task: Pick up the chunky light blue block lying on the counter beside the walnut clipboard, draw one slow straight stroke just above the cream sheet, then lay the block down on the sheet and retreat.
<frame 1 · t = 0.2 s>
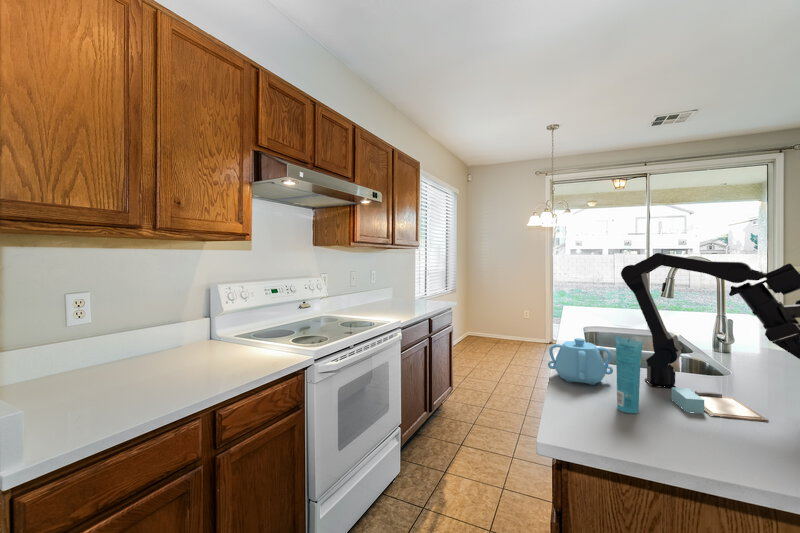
light blue block: (685, 406, 99), on the counter
tube: (627, 410, 97), on the counter
decorative pot: (579, 379, 121), on the counter
clipboard: (722, 406, 98), on the counter
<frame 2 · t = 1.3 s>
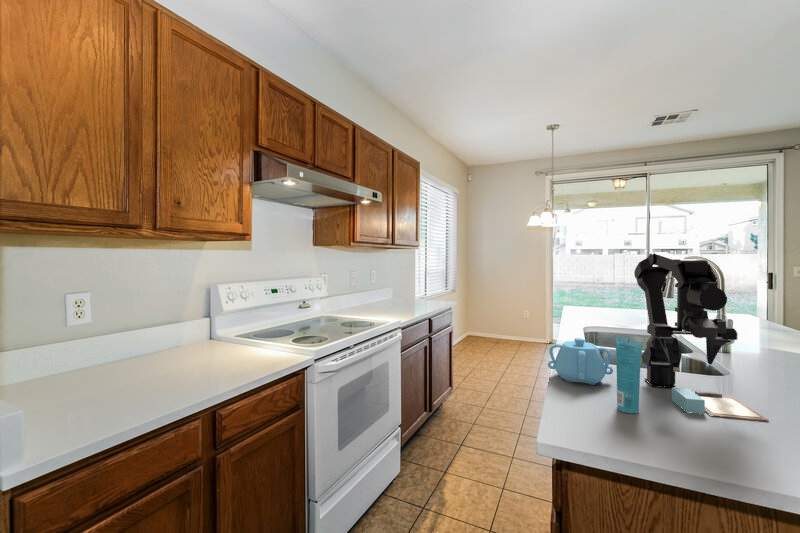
hand: (689, 362, 99), 12 cm above the counter, tool pointing down, fingers open, 9 cm apart
nothing on the counter moved.
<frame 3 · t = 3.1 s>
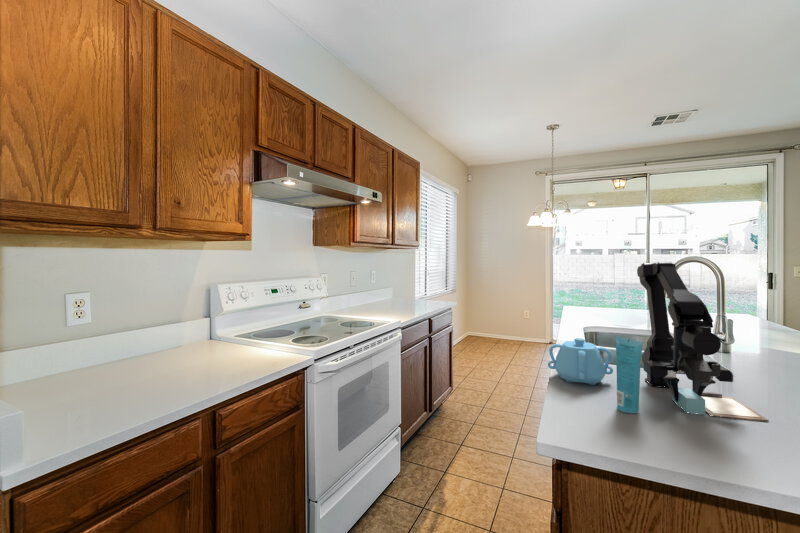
hand: (685, 402, 99), 1 cm above the counter, tool pointing down, fingers closed on light blue block, 4 cm apart
light blue block: (686, 406, 99), on the counter, touching gripper
everything else where it was.
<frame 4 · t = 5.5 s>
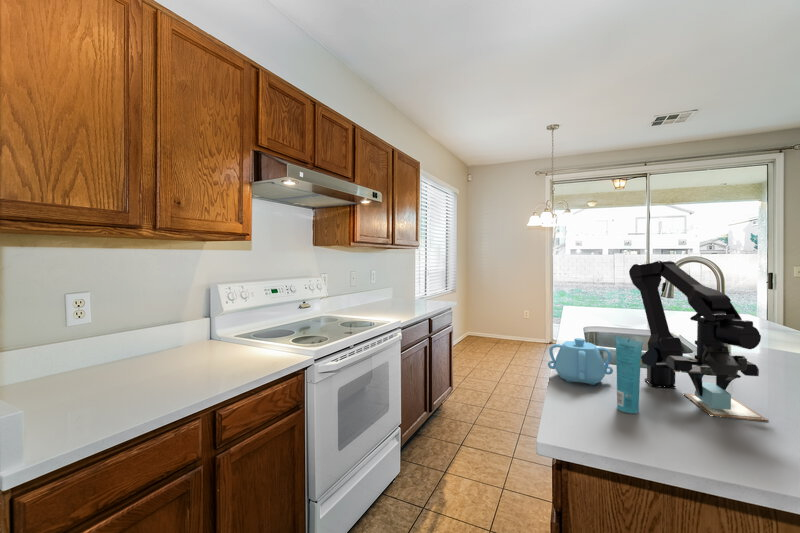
hand: (709, 396, 99), 3 cm above the counter, tool pointing down, fingers closed on light blue block, 4 cm apart
light blue block: (710, 401, 98), point 2 cm above the counter, touching gripper
everything else where it was.
when the fingers open (2 cm above the counter, at t = 8.1 s): light blue block stays where it is, resting on clipboard.
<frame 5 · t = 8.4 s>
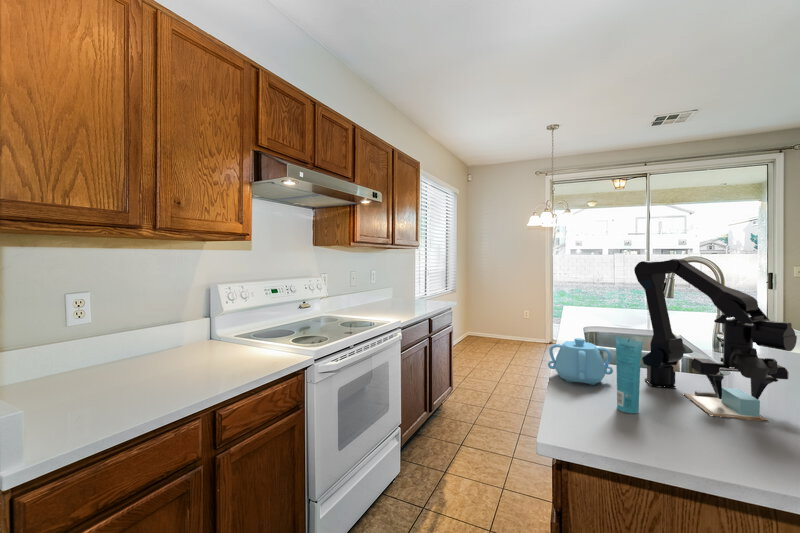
hand: (736, 400, 97), 2 cm above the counter, tool pointing down, fingers open, 7 cm apart
light blue block: (737, 407, 97), point 1 cm above the counter, touching clipboard
everything else where it was.
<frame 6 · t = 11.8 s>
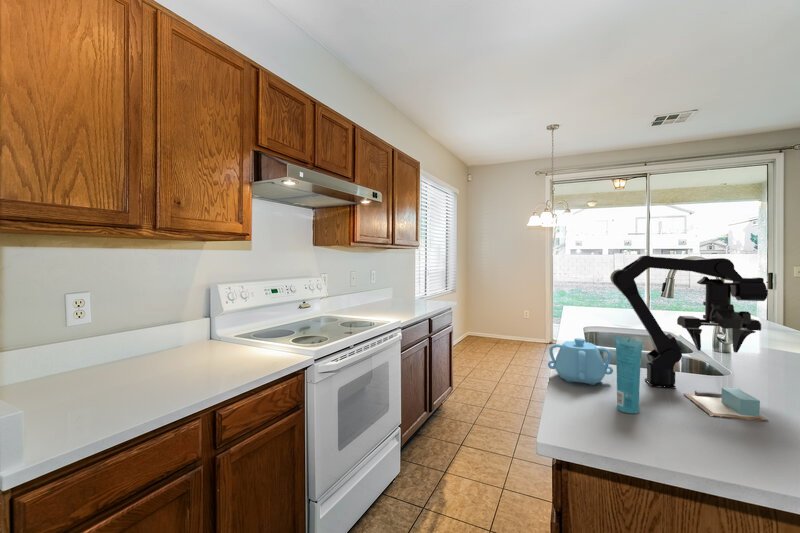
hand: (716, 351, 110), 12 cm above the counter, tool pointing down, fingers open, 9 cm apart
nothing on the counter moved.
at the end: light blue block inside the target area (3.2 cm from its centre), point 0.6 cm above the counter; the gripper is holding nothing; light blue block moved 12.0 cm from its start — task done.
